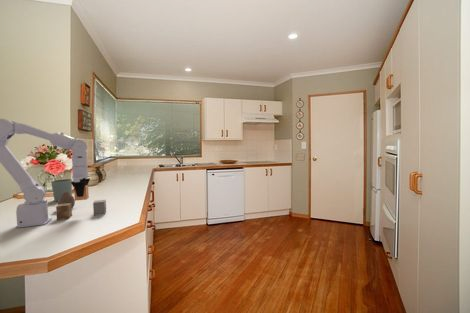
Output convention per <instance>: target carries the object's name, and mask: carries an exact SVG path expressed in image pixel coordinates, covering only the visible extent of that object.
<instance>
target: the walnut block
mask: <svg viewBox="0 0 470 313" xmlns="http://www.w3.org/2000/svg"><path fill="white" fill-rule="evenodd" d="M55 208H56V210H55V211H56V221H60V220H68V219H71V217H73V211H72V210H73V208H72V205H71V203H66V204H59V205H58V204H57V205H56V207H55Z"/></svg>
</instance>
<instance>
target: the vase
mask: <svg viewBox="0 0 470 313" xmlns="http://www.w3.org/2000/svg"><path fill="white" fill-rule="evenodd" d="M66 203H71V205H72V209H73V208H74V206H75V203H76V201H75V196H73V194H72V195H71V194H70V193H69V192H63V194H62V196H61V197H60V198H59V200H58V201H57V206H58V205H59V204H66Z"/></svg>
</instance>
